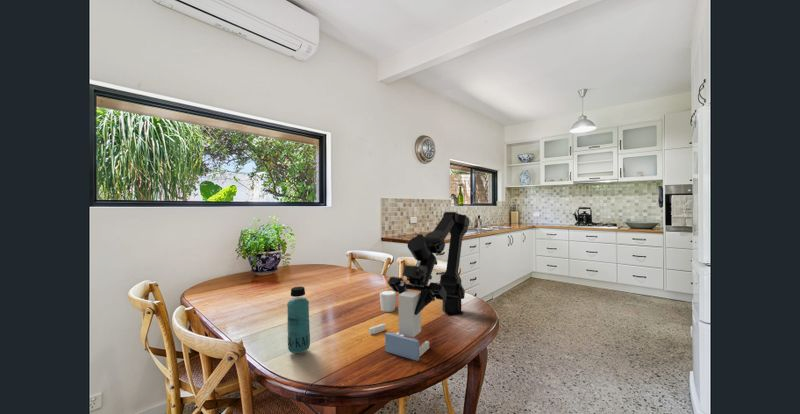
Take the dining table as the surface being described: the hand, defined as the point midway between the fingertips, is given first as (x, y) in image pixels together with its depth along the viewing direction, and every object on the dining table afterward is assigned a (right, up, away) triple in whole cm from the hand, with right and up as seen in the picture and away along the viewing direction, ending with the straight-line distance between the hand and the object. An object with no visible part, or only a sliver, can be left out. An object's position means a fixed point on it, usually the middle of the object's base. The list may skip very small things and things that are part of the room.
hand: (407, 312), depth 98 cm
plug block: (+1, -7, +2) cm, 7 cm away
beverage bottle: (-33, -12, 0) cm, 35 cm away
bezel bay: (0, -11, +1) cm, 11 cm away
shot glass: (-7, -10, +35) cm, 37 cm away
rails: (-7, -11, +10) cm, 17 cm away
